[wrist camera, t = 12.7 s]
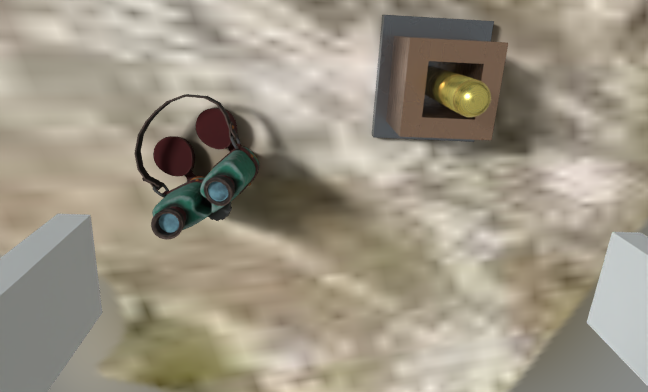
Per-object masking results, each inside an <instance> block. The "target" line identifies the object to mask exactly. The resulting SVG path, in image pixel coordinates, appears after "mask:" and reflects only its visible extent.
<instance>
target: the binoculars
mask: <svg viewBox="0 0 648 392" xmlns="http://www.w3.org/2000/svg"><path fill="white" fill-rule="evenodd" d="M183 97H197V98H205V99H207V100H209V101H211V102H213V103H215V104H216V105H217V106H218V107H219V108H211V109H207V110H205V111H203V112H202V113H201V114H200V115H199V116H198V118H197V121H196V132H197V134H198V136H199V138H200V139H201V141H202V142H204V143H205V144H206V145H208V146H209V147H212V148H215V149H224V148H227V147H228V149H229V151H230V153H229V154H227V155H226V156H225V157H224V158H223V159H222V160H221V161H219V162H218V163H217V164H216V165H215V166H214V167H213V169H211V170H210V172H209V174H208V175H207V176H206V177H203V176H195V175H194V173H193V172H192V169H193V167H194V163H195V154H194V150H193V148H192V146H191V144H190V143H189V142H188V141H187V140H185V139H183V138H181V137H165V138H163V139H162V140H160V141H159V142H158V143H157V145H156V146H155V148H154V153H153V155H154V161H155V163H156V165H157V166H158V167H159V169H161V170H162V171H163V172H165V173H167V174H169V175H172V176H183V175H185V176H186V178H187V181H188V182H186V183H184V184H182V185H180V186H178V187H177V188H175V189H172V190H170V191H169V189H168V188H167V187H166V185H165V184H164V183H162V182H160V181H159V180H157V179H155V178H153V177H151V176H149V174H148V173H147V171H146V170H145V168H144V167H143V162H142V156H141V146H142V141H143V136H144V133H145V131H146V129H147V128H148V126H149V124H150V122H151V121H152V120H153V119H154V117H155V116H156V115H157V114H158V113H159V112H160V111H161V110H162V109H163V108H165V107H166V106H167V105H168V104H170V103H171V102H173V101H175V100H178V99H180V98H183ZM235 140H237V143H238V144H237V145H236V143H235ZM135 158H136V163H137V168H138V171H139V172H140V174H141V175H142V176H143V178H142V179H143V181H146V182H148V183H150V184H151V186H152V187H153V190H154V191H155V192H156V193H157V194H158V195H160V196H162V197H164V198H163V199H162V200H161V201H160V202H159V203H158V204H157V205H156V206H155V208H154V209H153V219H152V222H151V227H152V230H153V232H154V234H155V235H156V236H158V237H159V238H162V239H172V238H175V237H176V236H178V235H179V234H180V232H181V231H182V230H184V229H186V228H189V227H191V226H193V225H195V224H197V223H199V222H200V221H202V220H203V219H205V218H206V217H210V219H212V220H213V219H214V220H216V221H219V220H220V219H222V220H223V219H225V217H227V216H228V215H229V213H230V211H231V209H232V207H231V204H232V203H231V201H232V200H233V199H234V198H235V197H236V196H237V195H238V194H240V193H241V192H242V191H243V190H244V189H245V188H246V187H247V186H250V185H251V182H252V181H253V180H254V178H255V176H256V175H257V173H258V169H259V162H258V159H257V157H256V156H255V155H254V154H253V153H252V152H251V151H250V150H249V149H248V148H247V147H242V146H241V144H240V141H239V138H238V135H237V125H236V121H235V119H234V117H233V116H232V114H231V113H230V112H229V111H227V110H225V109H224V107H223V106H222V104H221V103H220V102H218V101H216V100H214V99H212V98H210V97H208V96H200V95H189V94H186V95H182V96H180V97H177V98H174V99H172V100H169V101H167V102H165V103H164V104H163V105H162V106H161V107H159V108H158V109H157V110H156V111H155V112H154V113H153V114H152V115H151V116H150V117H149V118H148V119H147V121H146V122H145V124H144V125H143V127H142V129H141V131H140V132H139V134H138V137H137V143H136V148H135ZM162 187H164V188H165V190H166V191H165V192H164V193H160V192H159V191H158V190H159V189H160V188H162Z"/></svg>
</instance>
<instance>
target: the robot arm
mask: <svg viewBox="0 0 648 392" xmlns="http://www.w3.org/2000/svg"><path fill="white" fill-rule="evenodd" d="M101 314H102V306H101V298H100V290H99V281H98V273H97V265H96V256H95V248H94V240H93V231H92V223H91V215H81V214H57V215H56V216H54V217H53V218H52V219H50V220H49V221H48V222H46V223H45V224H44V225H43V226H41V227H40V228H39V229H37V230H36V231H35V232H33V233H32V234H31V235H30V236H28V237H27V238H26V239H24V240H23V241H22V242H21V243H19V244H18V245H17V246H15V247H14V248H13V249H11V250H10V251H9V252H8V253H6V254H5V255H4V256H2V257H1V258H0V392H47V391H48V390H49V389H50V387H51V386H52V384H53V383H54V382H55V380H56V379H57V377H58V376H59V374H60V373H61V371H62V370H63V369H64V367H65V366H66V364H67V363H68V361H69V360H70V358H71V357H72V356H73V354H74V353H75V351H76V350H77V348H78V347H79V345H80V344H81V343H82V341H83V340H84V338H85V337H86V335H87V334H88V333H89V331H90V330H91V328H92V327H93V325H94V324H95V322H96V321H97V319H98V318H99V317H100V315H101ZM587 323H588V324H589V325H590V326H591V328H592V329H593V330H594V331H595V332H596V333H597V334H598V335H599V336H600V337H601V338H602V339H603V340H604V341H605V342H606V343H607V344H608V345H609V346H610V347H611V348H612V349H613V350H614V351H615V352H616V353H617V355H618V356H619V357H620V358H621V359H622V360H623V361H624V362H625V363H626V364H627V365H628V366H629V367H630V368H631V369H632V370H633V371H634V372H635V373H636V374H637V375H638V376H639V377H640V378H641V380H643V382H644V383H645V384H646V385H647V386H648V237H647V236H645V235H644V234H642V233H634V232H612V235H611V239H610V242H609V246H608V249H607V253H606V256H605V260H604V263H603V267H602V270H601V274H600V277H599V281H598V284H597V288H596V292H595V295H594V299H593V302H592V306H591V309H590V313H589V316H588V320H587Z"/></svg>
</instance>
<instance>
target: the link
mask: <svg viewBox="0 0 648 392" xmlns="http://www.w3.org/2000/svg"><path fill="white" fill-rule="evenodd" d="M507 47H508V43H504V42H492V41H480V40H463V39H444V38H425V37H406V36H394V44H393V54H392V65H391V75H390V86H389V96H388V107H387V117H386V122H387V123H388V124H389V125H390V126H391V127H392V129H393V130H394V131H395V132H396V133H397V134H398V135H399V136H400V137H422V138H447V139H472V140H492V134H493V128H494V123H495V117H496V111H497V105H498V99H499V94H500V88H501V82H502V76H503V71H504V65H505V59H506V53H507ZM429 61H437V62H457V68H456V73H457V74H460V75H463V76H467V77H470V78H473V79H476V80H479V81H482V82H483V83H485V84H486V85H487V86H488V88H489V90H490V92H491V102H490V105H489V107H488V109H487V110H486V111H485V112H484V113H483V114H481V115H479V116H476V117H465V116H462V115H460V114H459V113H457V112H455V111H453V110H451V109H450V108H448V107H446V106H426V105H423V104H424V96H425V88H426V79H427V71H428V63H429Z"/></svg>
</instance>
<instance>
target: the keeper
mask: <svg viewBox="0 0 648 392" xmlns="http://www.w3.org/2000/svg"><path fill="white" fill-rule="evenodd" d="M493 24H494V21H480V20H463V19H446V18H429V17H412V16H396V15H382V25H381V36H380V47H379V58H378V70H377V81H376V92H375V103H374V114H373V126H372V136H373V137H379V138H402V139H425V140H448V141H470V142H474V140H472V139H447V138H422V137H400V136H399V135H398V134H397V133H396V132H395V131H394V130H393V129H392V127H391V126H390V125H389V124H388V123H387V122H386V117H387V107H388V96H389V86H390V75H391V65H392V54H393V44H394V36H406V37H425V38H444V39H463V40H480V41H491V36H492V30H493ZM456 68H457V62H437V61H429V63H428V71H427V79H426V88H425V96H424V104H423V105H426V106H446V107H448V108H450V109H451V110H453V111H455V112H457V113H459V114H460V115H462V116H465V117H476V116H479V115H481V114H483V113H484V112H485V111H486V110H487V109H488V107H489V105H490V102H491V92H490V90H489V88H488V86H487V85H486V84H485V83H483V82H482V81H479V80H476V79H473V78H470V77H467V76H463V75H460V74H457V73H456Z"/></svg>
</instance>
